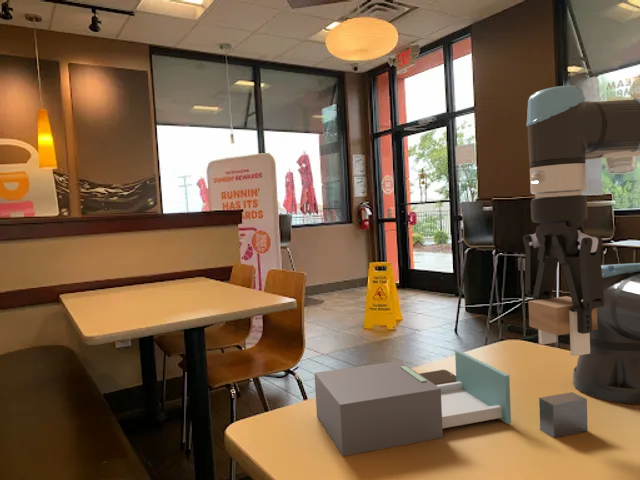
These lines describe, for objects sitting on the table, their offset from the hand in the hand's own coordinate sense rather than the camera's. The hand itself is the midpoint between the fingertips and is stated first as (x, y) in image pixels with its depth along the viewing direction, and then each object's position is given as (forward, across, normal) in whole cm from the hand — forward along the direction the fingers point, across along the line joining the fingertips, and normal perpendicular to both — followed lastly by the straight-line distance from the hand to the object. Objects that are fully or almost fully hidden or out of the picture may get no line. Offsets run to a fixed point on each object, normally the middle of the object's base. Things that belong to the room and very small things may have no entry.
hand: (563, 347), depth 74 cm
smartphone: (+13, -27, -11) cm, 32 cm away
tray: (+12, -12, -14) cm, 22 cm away
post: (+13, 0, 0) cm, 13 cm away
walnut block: (-3, 0, 0) cm, 3 cm away
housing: (+12, -12, -27) cm, 32 cm away
